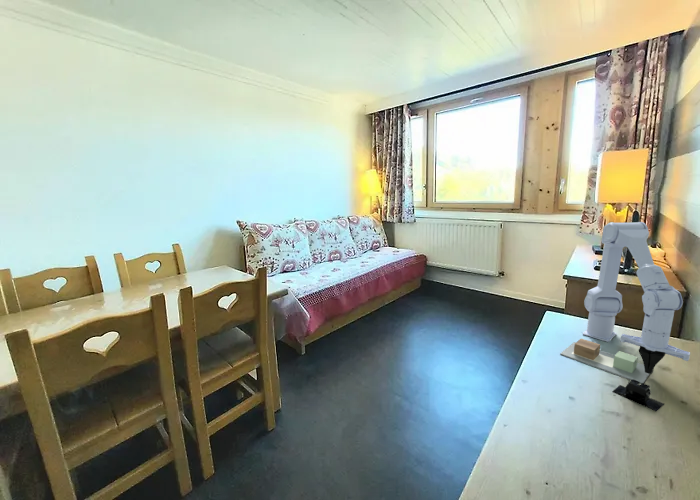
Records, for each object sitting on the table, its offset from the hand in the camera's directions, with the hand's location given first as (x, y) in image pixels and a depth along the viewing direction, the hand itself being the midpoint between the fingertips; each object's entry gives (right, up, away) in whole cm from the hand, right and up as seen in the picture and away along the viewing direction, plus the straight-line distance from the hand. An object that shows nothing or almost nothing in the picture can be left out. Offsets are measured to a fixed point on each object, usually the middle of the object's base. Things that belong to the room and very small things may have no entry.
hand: (648, 372), depth 94 cm
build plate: (-6, 0, +8) cm, 10 cm away
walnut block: (-9, +1, +12) cm, 15 cm away
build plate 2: (-11, -4, -8) cm, 14 cm away
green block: (-3, 0, +4) cm, 5 cm away
